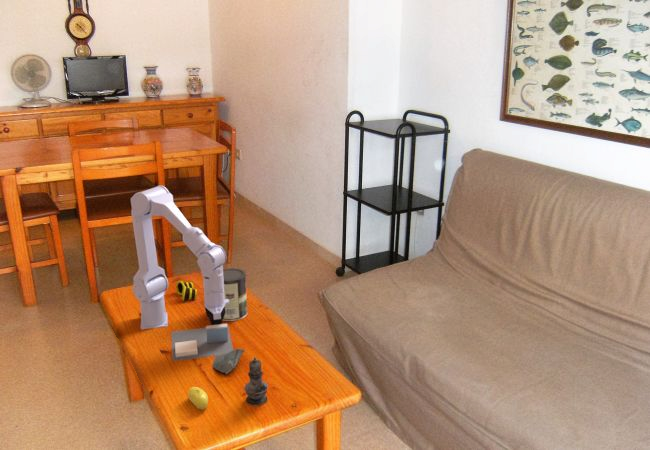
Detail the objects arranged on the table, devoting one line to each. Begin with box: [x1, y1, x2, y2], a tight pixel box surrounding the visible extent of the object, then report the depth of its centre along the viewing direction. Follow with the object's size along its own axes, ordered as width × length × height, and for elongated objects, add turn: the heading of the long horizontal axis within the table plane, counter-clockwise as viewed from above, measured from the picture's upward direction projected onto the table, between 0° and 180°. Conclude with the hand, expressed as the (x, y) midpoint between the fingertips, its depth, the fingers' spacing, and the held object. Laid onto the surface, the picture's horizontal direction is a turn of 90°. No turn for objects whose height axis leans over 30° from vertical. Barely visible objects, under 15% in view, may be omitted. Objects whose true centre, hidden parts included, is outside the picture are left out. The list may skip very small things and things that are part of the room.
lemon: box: [188, 386, 209, 410], centre depth 147 cm, size 4×8×4 cm, turn 28°
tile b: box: [205, 323, 229, 344], centre depth 174 cm, size 2×6×6 cm, turn 105°
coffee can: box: [222, 267, 248, 322], centre depth 191 cm, size 10×10×14 cm
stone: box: [212, 348, 245, 376], centre depth 162 cm, size 11×4×10 cm
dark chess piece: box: [243, 357, 269, 407], centre depth 147 cm, size 6×6×12 cm
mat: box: [170, 324, 234, 362], centre depth 175 cm, size 17×17×1 cm
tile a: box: [175, 340, 198, 358], centre depth 170 cm, size 2×6×6 cm
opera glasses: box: [175, 280, 198, 302], centre depth 205 cm, size 10×5×5 cm, turn 26°
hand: (216, 330), depth 175 cm, fingers closed
